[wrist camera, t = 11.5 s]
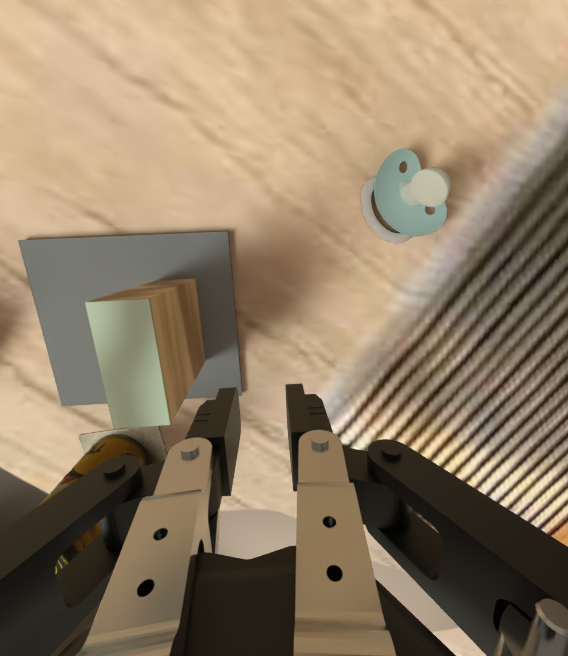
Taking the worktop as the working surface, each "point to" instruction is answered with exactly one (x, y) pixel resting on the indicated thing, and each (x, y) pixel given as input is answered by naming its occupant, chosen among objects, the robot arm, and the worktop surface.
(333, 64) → the worktop surface
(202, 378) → the mat
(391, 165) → the pacifier
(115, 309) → the block
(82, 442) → the condiment
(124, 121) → the worktop surface
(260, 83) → the worktop surface
